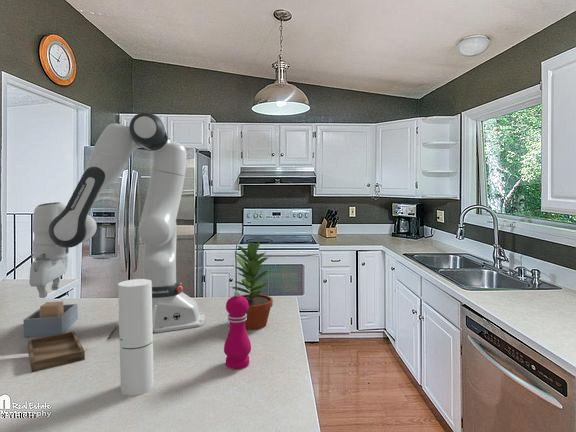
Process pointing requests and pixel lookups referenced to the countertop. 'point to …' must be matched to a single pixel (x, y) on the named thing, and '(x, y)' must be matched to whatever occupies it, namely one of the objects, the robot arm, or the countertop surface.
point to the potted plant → (253, 287)
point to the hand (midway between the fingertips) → (49, 293)
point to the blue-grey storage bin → (50, 322)
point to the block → (51, 309)
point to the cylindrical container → (136, 336)
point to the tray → (55, 351)
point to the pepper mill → (237, 333)
